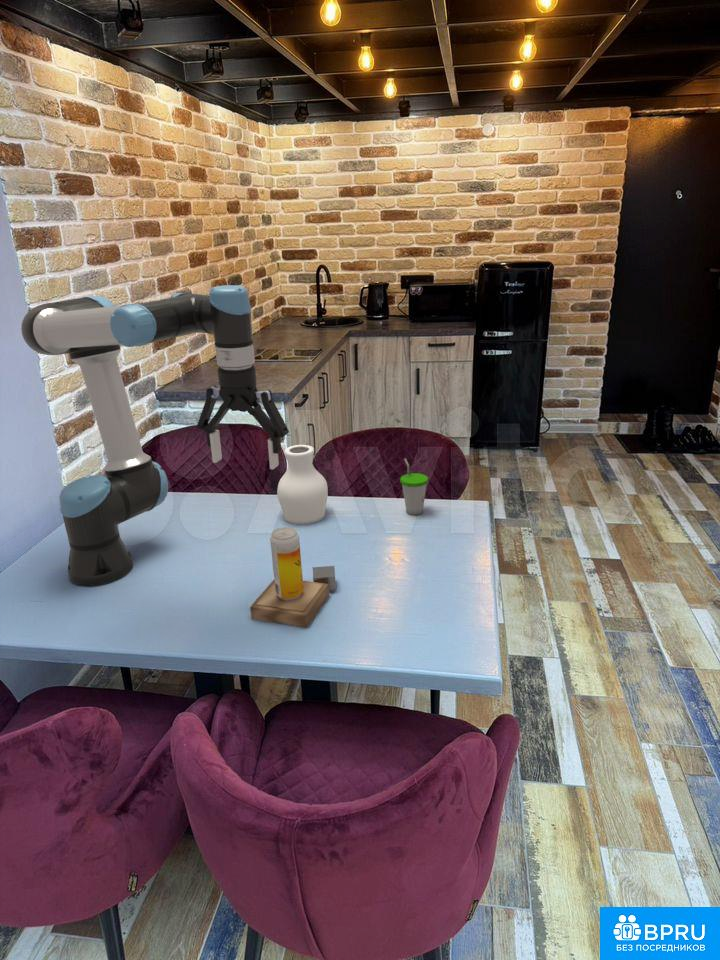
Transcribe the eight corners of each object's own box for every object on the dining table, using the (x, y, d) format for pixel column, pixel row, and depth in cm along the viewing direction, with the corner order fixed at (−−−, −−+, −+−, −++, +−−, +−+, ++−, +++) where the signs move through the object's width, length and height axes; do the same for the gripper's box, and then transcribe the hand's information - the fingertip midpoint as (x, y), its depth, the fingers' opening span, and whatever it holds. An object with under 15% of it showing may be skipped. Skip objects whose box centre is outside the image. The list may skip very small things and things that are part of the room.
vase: (283, 529, 187) (276, 461, 180) (276, 508, 200) (269, 444, 193) (334, 521, 190) (329, 454, 183) (324, 502, 203) (319, 438, 196)
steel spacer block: (314, 593, 156) (313, 578, 154) (314, 582, 161) (312, 567, 159) (336, 591, 156) (335, 576, 155) (335, 580, 161) (334, 565, 159)
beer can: (309, 594, 149) (304, 532, 144) (286, 604, 146) (280, 542, 140) (293, 584, 154) (288, 523, 148) (270, 593, 150) (264, 532, 144)
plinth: (251, 618, 147) (249, 605, 146) (277, 588, 159) (275, 575, 157) (307, 627, 143) (305, 614, 142) (329, 595, 155) (328, 583, 153)
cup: (430, 517, 190) (429, 466, 184) (401, 518, 190) (400, 468, 184) (427, 505, 197) (426, 456, 192) (399, 507, 197) (398, 458, 192)
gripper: (172, 366, 138) (185, 464, 147) (284, 374, 131) (291, 476, 139) (192, 358, 145) (203, 452, 153) (300, 364, 137) (306, 463, 145)
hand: (245, 463), depth 146 cm, fingers open, 13 cm apart
